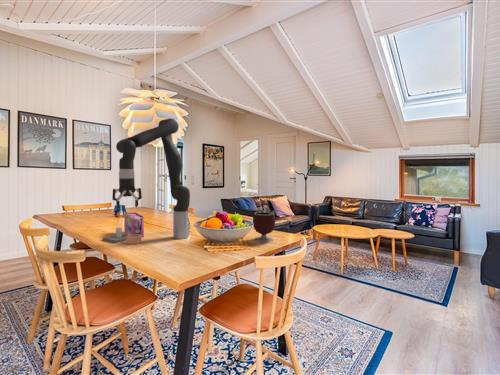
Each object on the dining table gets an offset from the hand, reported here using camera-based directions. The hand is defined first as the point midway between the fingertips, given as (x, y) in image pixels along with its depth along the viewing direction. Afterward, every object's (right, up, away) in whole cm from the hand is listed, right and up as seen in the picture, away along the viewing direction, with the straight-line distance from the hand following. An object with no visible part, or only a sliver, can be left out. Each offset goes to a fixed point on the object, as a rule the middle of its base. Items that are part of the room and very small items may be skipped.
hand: (127, 207), depth 148 cm
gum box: (-12, -21, +35) cm, 43 cm away
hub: (-3, -22, +15) cm, 26 cm away
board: (-15, -21, +21) cm, 34 cm away
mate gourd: (+75, -23, +27) cm, 83 cm away
